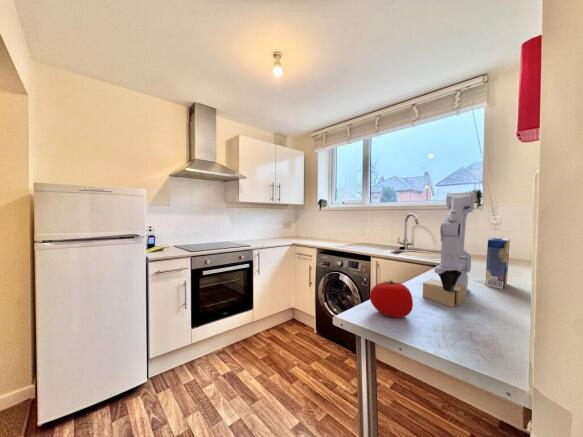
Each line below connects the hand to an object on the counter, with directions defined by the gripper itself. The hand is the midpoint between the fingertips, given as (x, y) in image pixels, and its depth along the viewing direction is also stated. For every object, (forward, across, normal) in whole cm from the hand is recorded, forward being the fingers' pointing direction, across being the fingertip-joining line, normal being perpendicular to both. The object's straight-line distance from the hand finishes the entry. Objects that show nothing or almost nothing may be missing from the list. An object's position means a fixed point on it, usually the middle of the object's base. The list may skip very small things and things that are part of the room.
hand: (448, 289), depth 90 cm
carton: (+6, +6, +5) cm, 10 cm away
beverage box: (+7, +47, +5) cm, 48 cm away
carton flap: (+6, 0, +4) cm, 7 cm away
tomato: (+7, -24, +5) cm, 26 cm away
